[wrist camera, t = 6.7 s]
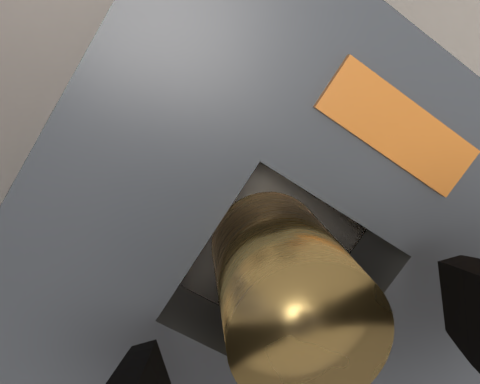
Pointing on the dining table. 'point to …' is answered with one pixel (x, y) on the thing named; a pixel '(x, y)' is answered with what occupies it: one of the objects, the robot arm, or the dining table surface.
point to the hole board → (235, 179)
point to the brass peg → (295, 298)
